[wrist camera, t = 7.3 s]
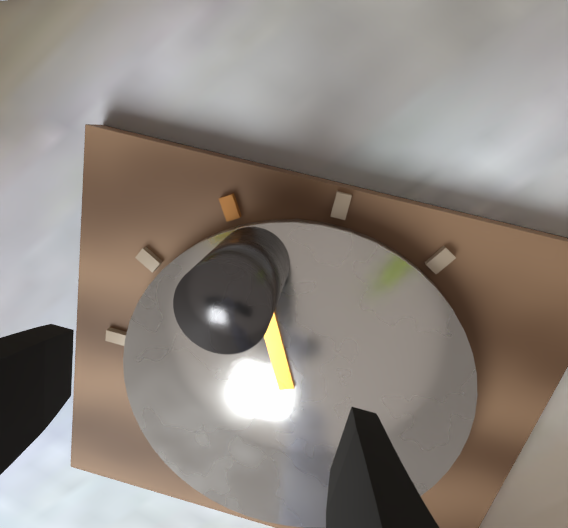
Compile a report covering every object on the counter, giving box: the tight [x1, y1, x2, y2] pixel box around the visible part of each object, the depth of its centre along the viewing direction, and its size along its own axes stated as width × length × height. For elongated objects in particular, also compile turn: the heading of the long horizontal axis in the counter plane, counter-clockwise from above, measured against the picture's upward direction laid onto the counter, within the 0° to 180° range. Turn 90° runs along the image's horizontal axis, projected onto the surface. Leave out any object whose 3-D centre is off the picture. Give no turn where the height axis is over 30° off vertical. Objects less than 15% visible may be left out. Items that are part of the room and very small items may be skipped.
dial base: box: [71, 124, 568, 528], centre depth 19 cm, size 19×22×2 cm
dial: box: [123, 219, 478, 528], centre depth 16 cm, size 16×16×5 cm
